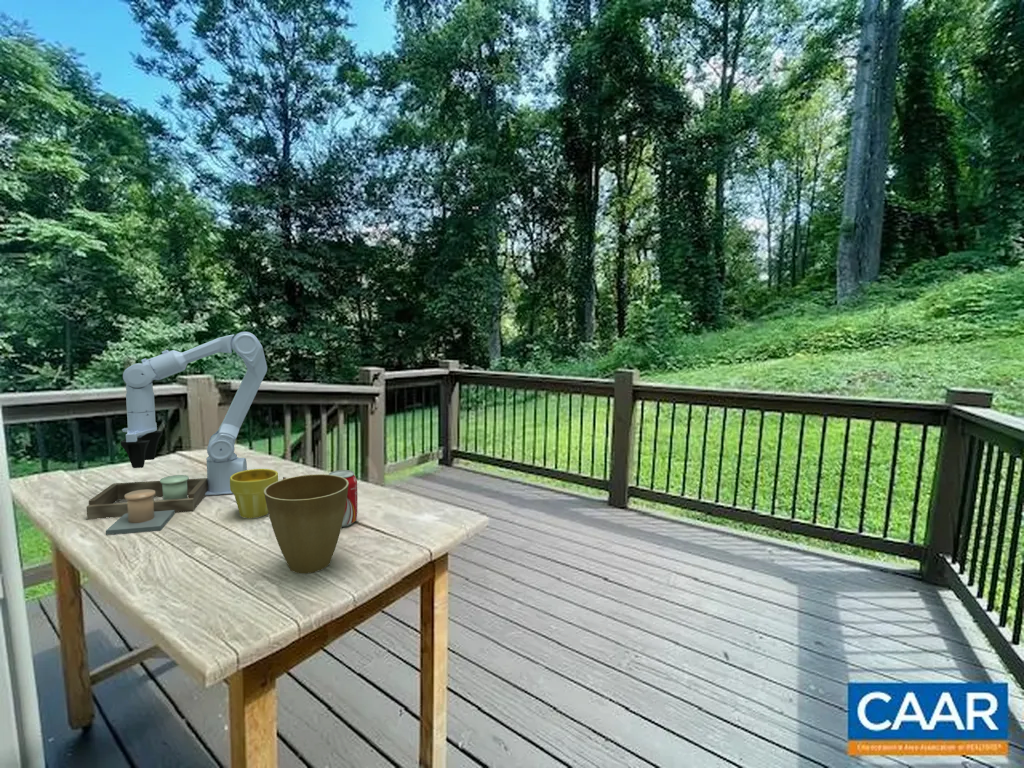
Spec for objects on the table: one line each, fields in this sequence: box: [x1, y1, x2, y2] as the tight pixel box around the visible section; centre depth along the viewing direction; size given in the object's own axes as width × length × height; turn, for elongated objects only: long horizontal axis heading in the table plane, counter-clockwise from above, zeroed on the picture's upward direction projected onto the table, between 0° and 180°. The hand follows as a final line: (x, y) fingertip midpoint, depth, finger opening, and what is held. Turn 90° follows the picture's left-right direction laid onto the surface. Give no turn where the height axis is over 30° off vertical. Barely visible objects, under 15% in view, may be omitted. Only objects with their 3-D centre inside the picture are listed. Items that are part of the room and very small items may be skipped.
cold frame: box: [85, 477, 208, 520], centre depth 125 cm, size 21×14×4 cm
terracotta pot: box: [124, 489, 155, 523], centre depth 114 cm, size 6×6×6 cm
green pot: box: [159, 474, 190, 500], centre depth 127 cm, size 6×6×6 cm
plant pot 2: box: [264, 473, 349, 575], centre depth 96 cm, size 15×15×16 cm
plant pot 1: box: [230, 468, 279, 519], centre depth 122 cm, size 10×10×10 cm
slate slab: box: [105, 510, 176, 536], centre depth 114 cm, size 10×10×1 cm
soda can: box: [327, 469, 358, 528], centre depth 117 cm, size 7×7×12 cm
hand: (143, 463), depth 128 cm, fingers open, 7 cm apart
